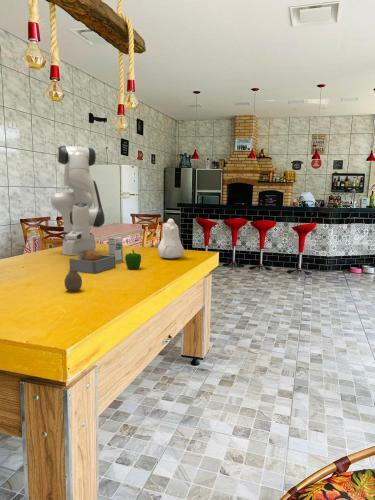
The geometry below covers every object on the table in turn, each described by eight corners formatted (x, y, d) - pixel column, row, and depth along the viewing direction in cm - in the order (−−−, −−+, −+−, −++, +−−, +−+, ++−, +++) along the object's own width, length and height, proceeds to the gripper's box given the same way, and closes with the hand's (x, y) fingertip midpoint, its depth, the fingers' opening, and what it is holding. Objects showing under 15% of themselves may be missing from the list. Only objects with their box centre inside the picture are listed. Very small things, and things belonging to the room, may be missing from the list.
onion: (103, 267, 208) (103, 248, 206) (97, 271, 198) (97, 251, 196) (86, 266, 208) (85, 248, 207) (79, 270, 199) (78, 251, 197)
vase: (75, 287, 164) (75, 267, 162) (85, 290, 159) (85, 269, 158) (61, 290, 158) (60, 269, 157) (71, 293, 154) (70, 272, 153)
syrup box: (115, 263, 219) (115, 238, 217) (108, 262, 222) (108, 237, 220) (122, 262, 223) (122, 237, 221) (115, 260, 227) (115, 236, 225)
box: (91, 264, 214) (91, 253, 213) (115, 267, 208) (115, 256, 207) (69, 270, 197) (69, 259, 196) (94, 273, 191) (94, 261, 190)
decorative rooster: (184, 260, 231) (185, 219, 227) (158, 260, 230) (158, 219, 226) (181, 254, 256) (182, 216, 252) (157, 253, 254) (158, 216, 251)
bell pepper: (138, 270, 201) (138, 251, 199) (123, 269, 202) (123, 250, 201) (143, 267, 209) (143, 249, 207) (128, 266, 211) (128, 248, 209)
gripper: (88, 232, 213) (89, 256, 215) (63, 235, 195) (64, 262, 197) (98, 232, 211) (98, 257, 213) (73, 236, 192) (74, 263, 194)
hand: (81, 260), depth 205 cm, fingers closed
